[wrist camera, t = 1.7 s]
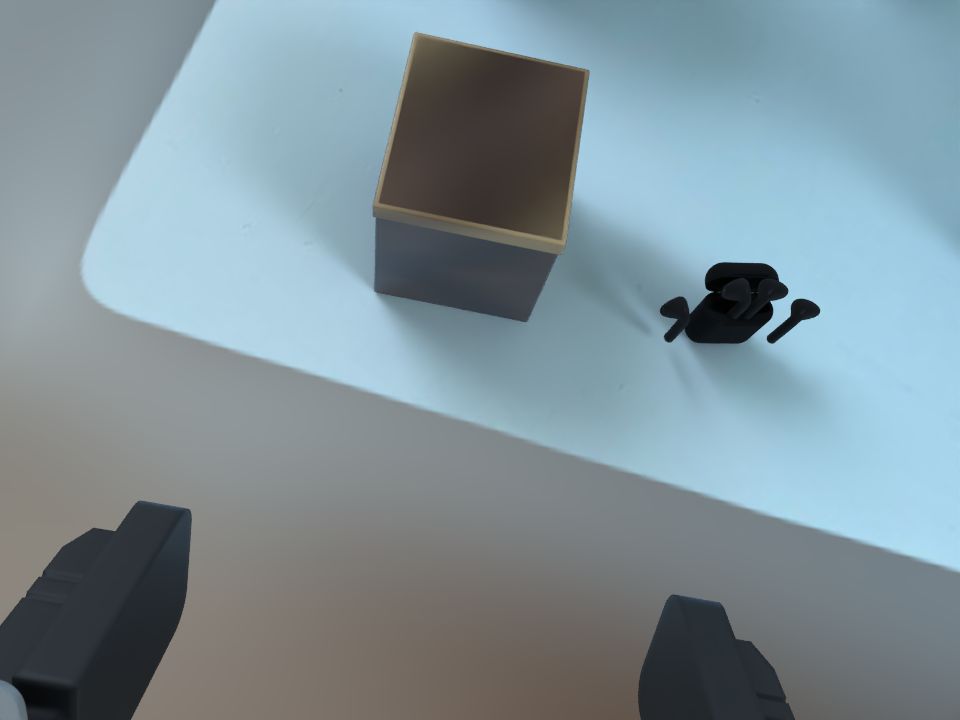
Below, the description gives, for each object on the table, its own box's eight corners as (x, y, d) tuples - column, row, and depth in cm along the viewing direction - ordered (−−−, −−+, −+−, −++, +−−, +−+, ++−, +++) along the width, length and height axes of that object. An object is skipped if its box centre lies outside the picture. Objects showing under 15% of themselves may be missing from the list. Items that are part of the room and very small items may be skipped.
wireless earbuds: (641, 348, 38) (679, 302, 33) (635, 297, 39) (672, 246, 34) (786, 349, 39) (844, 305, 34) (777, 300, 40) (833, 250, 35)
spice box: (371, 293, 37) (372, 206, 30) (406, 142, 40) (414, 30, 33) (529, 325, 37) (566, 246, 30) (551, 173, 40) (590, 69, 33)
